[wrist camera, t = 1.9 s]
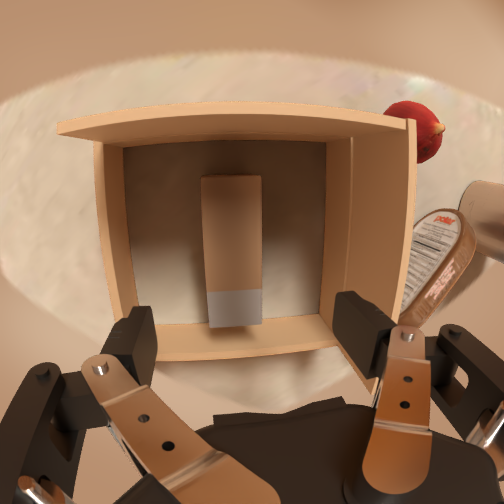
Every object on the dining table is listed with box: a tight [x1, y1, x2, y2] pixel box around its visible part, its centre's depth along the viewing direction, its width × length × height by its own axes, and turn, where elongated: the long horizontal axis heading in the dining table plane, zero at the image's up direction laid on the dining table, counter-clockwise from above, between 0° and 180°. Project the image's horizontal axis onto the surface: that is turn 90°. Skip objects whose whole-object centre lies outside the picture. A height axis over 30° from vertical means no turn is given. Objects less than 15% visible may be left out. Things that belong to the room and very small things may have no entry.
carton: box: [57, 101, 417, 395], centre depth 20 cm, size 20×19×12 cm
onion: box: [383, 101, 445, 164], centre depth 21 cm, size 6×6×8 cm
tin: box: [397, 208, 476, 329], centre depth 25 cm, size 15×3×8 cm, turn 140°
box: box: [200, 174, 262, 328], centre depth 23 cm, size 4×11×6 cm, turn 1°
